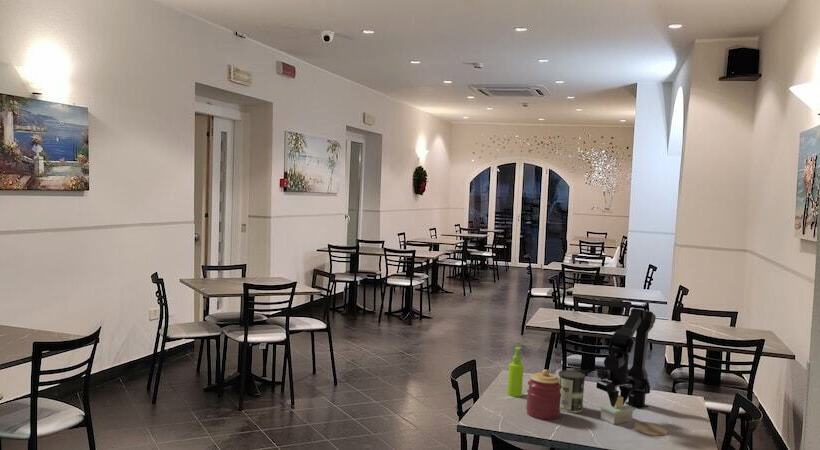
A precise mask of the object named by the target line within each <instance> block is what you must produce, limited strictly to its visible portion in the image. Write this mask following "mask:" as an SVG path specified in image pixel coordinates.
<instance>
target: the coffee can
mask: <svg viewBox="0 0 820 450" xmlns="http://www.w3.org/2000/svg"><path fill="white" fill-rule="evenodd" d="M558 378H559V379H560V382H559V383H560V384H561V385H562V388H561V389H560V393H561V399H560V411H562V412H565V413H572V414H576V413H581V412H583V407H584V406H583V405H584V404H583V403H584V391H585V380H586V379H585V378H586V375H585V374H584V373H583V372H579V371H576V370H568V369H567V370H560V371H558Z"/></svg>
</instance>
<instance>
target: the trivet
mask: <svg viewBox="0 0 820 450" xmlns="http://www.w3.org/2000/svg"><path fill="white" fill-rule="evenodd" d="M633 429H635V430H636V431H637V432H639V433H643V434H644V435H649V436H654V437H655V436H656V437H657V436H662V437H663V436H666V435H668V434H669V430H668V429H667V428H666V427H665V426H663V425H659V424H657V423H654V422H653V423H652V422H645V421H643V422H641V421H640V422H636V423H634V424H633Z"/></svg>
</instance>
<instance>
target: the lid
mask: <svg viewBox="0 0 820 450" xmlns="http://www.w3.org/2000/svg"><path fill="white" fill-rule="evenodd" d="M599 408H600V409H601V408H602V409H605V410H607V411H609V412H612V413H614V414H616V413H622V412H627V411H632V410H633V411H635V410H636V408H635V407H633V406H630V405H628V404H626V403H624V405H623V397H622V396H620V394H618V397H617V401H616V404H615V406H614V407H612V406H611V403H605V404H600V405H599Z"/></svg>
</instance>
